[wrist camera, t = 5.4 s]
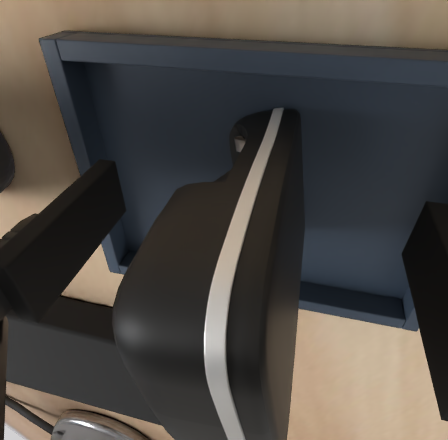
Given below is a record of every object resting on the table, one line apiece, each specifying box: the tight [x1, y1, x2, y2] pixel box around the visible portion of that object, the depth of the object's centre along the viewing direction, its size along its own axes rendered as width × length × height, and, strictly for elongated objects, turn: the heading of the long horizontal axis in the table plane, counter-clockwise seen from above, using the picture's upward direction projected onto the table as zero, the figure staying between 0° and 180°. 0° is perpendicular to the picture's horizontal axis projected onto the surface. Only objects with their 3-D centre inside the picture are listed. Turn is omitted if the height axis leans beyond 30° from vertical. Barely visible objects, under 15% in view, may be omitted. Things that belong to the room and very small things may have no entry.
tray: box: [39, 31, 448, 331], centre depth 17 cm, size 19×14×2 cm
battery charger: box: [112, 107, 305, 440], centre depth 12 cm, size 7×4×11 cm, turn 10°
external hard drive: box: [6, 296, 162, 425], centre depth 32 cm, size 14×23×3 cm, turn 89°
